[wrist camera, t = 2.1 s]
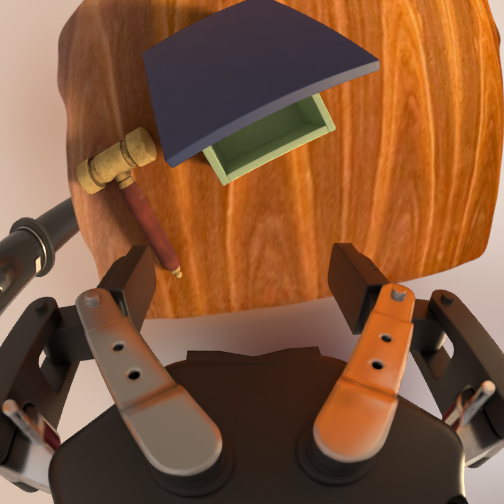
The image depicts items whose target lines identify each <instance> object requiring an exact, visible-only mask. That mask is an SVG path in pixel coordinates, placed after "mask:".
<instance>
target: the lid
mask: <svg viewBox="0 0 504 504" xmlns="http://www.w3.org/2000/svg"><path fill="white" fill-rule="evenodd" d="M142 55H143V61H144V66H145V72H146V77H147V82H148V87H149V92H150V97H151V102H152V107H153V111H154V116H155V120H156V125H157V129H158V134H159V138H160V142H161V146H162V150H163V154H164V159H165V161H166V162H167V163H168V164H169V165H170V166H171V167H172V168H174V167H176V166H177V165H179V164H181V163H182V162H184V161H185V160H187V159H189V158H190V157H192V156H194V155H195V154H197V153H199V152H200V151H202V150H204V149H206V148H207V147H209V146H211V145H213V144H214V143H216V142H218V141H220V140H222V139H223V138H225V137H227V136H229V135H231V134H233V133H234V132H236V131H238V130H240V129H242V128H244V127H246V126H248V125H250V124H252V123H254V122H256V121H258V120H260V119H262V118H264V117H266V116H268V115H270V114H272V113H274V112H276V111H278V110H280V109H282V108H285V107H287V106H289V105H291V104H293V103H296V102H298V101H300V100H302V99H305V98H307V97H309V96H312V95H314V94H316V93H319V92H321V91H324V90H326V89H329V88H331V87H334V86H336V85H339V84H342V83H344V82H347V81H350V80H352V79H355V78H358V77H361V76H364V75H366V74H369V73H372V72H375V71H378V70H379V60H378V59H377V58H376V57H374V56H373V55H372V54H370V53H369V52H367V51H366V50H364V49H363V48H361V47H360V46H358V45H357V44H355V43H354V42H352V41H351V40H349V39H347V38H346V37H344V36H343V35H341V34H339V33H338V32H336V31H334V30H333V29H331V28H329V27H327V26H326V25H324V24H322V23H320V22H318V21H316V20H314V19H313V18H311V17H309V16H307V15H305V14H303V13H301V12H299V11H297V10H295V9H292V8H290V7H288V6H286V5H284V4H281V3H279V2H277V1H274V0H246V1H243V2H240V3H238V4H235V5H233V6H230V7H228V8H226V9H223V10H221V11H219V12H217V13H214V14H212V15H210V16H208V17H206V18H204V19H202V20H200V21H198V22H196V23H194V24H192V25H190V26H188V27H186V28H184V29H182V30H180V31H179V32H177V33H175V34H173V35H171V36H170V37H168V38H166V39H165V40H163V41H161V42H160V43H158V44H156V45H155V46H153V47H151V48H150V49H148V50H147V51H145V52H144V53H142Z"/></svg>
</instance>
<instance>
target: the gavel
mask: <svg viewBox="0 0 504 504" xmlns="http://www.w3.org/2000/svg"><path fill="white" fill-rule="evenodd" d="M156 156H157V152H156V148H155V145H154V142H153V140H152V138H151V136H150V135H149V133H148V132H147V131H146V130H145V129H144V128H142V127H139V128H138V129H136V130H134V131H132V132H130V133H129V134H127V135H126V139H125V140H121V141H119V142H118V143H116V144H114V145H113V146H111V147H109V148H108V149H106V150H104V151H103V152H101V153H100V154H98V155H97V156H96V157H95V158H94V157H89V158H88V159H86V160H85V161H83V162H82V163H80V164H79V165H78V167H77V178H78V181H79V183H80V185H81V187H82V188H83V189H84V190H85V191H86V192H88V193H90V194H94V193H96V192H97V191H99V190H101V189H103V188H104V187H105V186H106V184H107V182H110V181H112V180H113V179H115V180H116V182H118V183H119V184H118V186H119V187H120V189H121V192H122V195H123V198H124V200H125V202H126V204H127V206H128V207H129V209H130V211H131V213H132V215H133V216H134V218H135V220H136V222H137V223H138V225H139V227H140V229H141V230H142V232H143V234H144V235H145V237H146V239H147V241H148V242H149V244H150V246H151V247H152V249H153V251H154V252H155V254H156V256H157V257H158V259H159V260H160V262H161V264H162V265H163V266H164V267H166V268H167V269H168V270H169V271H170V272H171V273H173V274H174V273H175V276H176V277H177V278H180V277H181V276H182V273H181V271H179V270H180V266H179V261H178V256H177V254H176V252H175V250H174V249H173V247H172V245H171V243H170V242H169V240H168V238H167V236H166V235H165V233H164V231H163V229H162V228H161V226H160V224H159V222H158V220H157V218H156V217H155V215H154V213H153V211H152V209H151V207H150V206H149V204H148V202H147V200H146V198H145V196H144V194H143V192H142V191H141V189H140V187H139V186H138V185H137V183H136V182H135V181H134V179H133V177H132V176H131V175H130V174H131V172H130V170H131V169H133V168H135V167H136V165H139V166H144V165H146V164H148V163H150V162H152V161H154V160H155V159H156Z"/></svg>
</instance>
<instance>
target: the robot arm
mask: <svg viewBox="0 0 504 504" xmlns="http://www.w3.org/2000/svg"><path fill="white" fill-rule="evenodd" d="M46 264H47V249H46V246H45V244H44V241H43V240H42V238H41V236H40V235H39V234H38V233H37V232H36V231H35V230H34V229H32V228H31V227H28V226H20V227H19V228H17V229H16V230H15V231H14V232H13V233H11V234H10V235H8V236H7V237H6V238H4V239H3V240H2V241H0V316H1V315H2V314H3V312H4V311H5V310H6V309H7V307H8V306H9V305H10V304H11V303H12V301H13V300H14V299H15V298H16V297H17V296H18V295H19V294H20V292H21V291H22V290H23V289H24V288H25V287H26V286H27V285H28V283H29V282H30V281H31V280H32V279H33V278H34V277H35V276H36V275H37V274H38V273H39V272H40V271H42V270H43V269H44V267H45V266H46ZM328 285H329V288H330V290H331V292H332V294H333V296H334V298H335V300H336V301H337V303H338V305H339V307H340V309H341V311H342V313H343V315H344V317H345V319H346V321H347V323H348V325H349V327H350V329H351V331H352V333H353V335H357V334H361V336H360V338H359V340H358V343H357V345H356V347H355V349H354V351H353V353H352V355H351V357H350V359H349V361H348V363H347V362H345V361H342V360H339V359H336V358H333V357H328V356H321V354H320V351H319V348H318V346H317V347H305V348H291V349H284V350H280V351H276V352H272V353H268V354H264V355H260V356H246V355H240V354H234V353H228V352H223V351H187V359H186V360H183V361H179V362H175V363H172V364H170V365H167V366H165V367H163V366H162V364H161V363H160V362H159V360H158V359H157V357H156V356H155V355H154V353H153V352H152V350H151V349H150V347H149V346H148V345H147V343H146V342H145V340H144V339H143V337H142V336H141V335H140V330H141V327H142V324H143V322H144V319H145V316H146V314H147V311H148V308H149V305H150V303H151V300H152V298H153V295H154V292H155V289H156V275H155V269H154V262H153V256H152V250H151V247H150V245H134V246H132V248H131V249H130V251H129V252H128V253H127V255H126V256H122V257H121V258H119V259H118V260H116V261H115V262H114V263H113V264H112V266H111V267H110V270H108V272H107V273H106V275H105V276H104V277H103V279H102V280H101V282H100V283H99V285H98V286H97V288H94V289H90V290H87V291H85V292H83V293H82V294H80V295H79V296H78V298H77V299H76V302H75V304H76V305H73V306H67V307H61V308H58V305H57V303H56V300H55V299H54V298H52V297H43V298H39V299H37V300H35V301H33V302H32V303H31V304H29V306H28V307H27V308H26V309H25V311H24V312H23V314H22V315H21V317H20V318H19V320H18V321H17V322H16V324H15V325H14V327H13V328H12V330H11V331H10V333H9V334H8V336H7V337H6V339H5V340H4V342H3V344H2V345H1V347H0V475H1V476H2V477H4V478H5V479H7V480H8V481H10V482H11V483H13V484H14V485H16V486H17V487H19V488H20V489H22V490H24V491H26V492H36V491H38V490H41V491H44V492H47V493H49V494H52V497H53V501H54V504H468V502H467V500H466V497H465V490H464V468H465V467H469V468H477V467H479V466H481V465H482V464H483V463H485V462H486V461H487V460H488V459H490V458H491V457H493V456H494V455H496V454H497V453H498V452H499V451H501V450H502V449H503V448H504V354H503V353H502V351H501V350H500V348H499V347H498V345H497V344H496V343H495V342H494V340H493V339H492V338H491V336H490V335H489V334H488V332H487V331H486V330H485V329H484V327H483V326H482V325H481V324H480V323H479V322H478V320H477V319H476V318H475V316H474V315H473V314H472V313H471V312H470V311H469V309H468V308H467V307H466V306H465V305H464V304H463V303H462V301H461V300H460V299H459V298H458V297H457V296H456V295H455V294H453V293H451V292H449V291H446V290H435V291H433V293H432V295H431V298H430V301H429V300H421V299H415V295H414V293H413V292H412V291H411V290H410V289H409V288H407V287H405V286H403V285H400V284H394V283H390V282H389V281H388V280H387V279H386V277H385V276H384V275H383V274H382V273H381V271H379V269H378V268H377V267H376V266H375V264H374V263H373V262H372V261H371V260H370V259H369V258H368V257H366V256H364V255H363V254H361V253H359V252H358V251H357V250H356V249H355V247H354V246H353V245H352V244H351V243H335V244H334V245H333V247H332V253H331V259H330V265H329V271H328ZM446 336H448V337H449V339H450V340H451V342H452V343H453V346H454V354H453V357H452V358H450V357H449V355H448V353H447V352H446V350H445V349H444V347H443V346H442V344H443V342H444V340H445V338H446ZM42 350H43V351H44V353H45V355H46V358H45V360H44V361H43V364H42V366H41V368H40V367H39V356H40V354H41V352H42ZM409 351H410V352H411V354H412V356H413V358H414V360H415V362H416V363H417V365H418V367H419V369H420V371H421V373H422V375H423V377H424V379H425V381H426V383H427V385H428V387H429V389H430V391H431V393H432V395H433V397H434V399H435V401H436V404H437V406H438V408H439V410H440V412H441V414H442V420H440V419H439V418H437V417H435V416H433V415H432V414H430V413H428V412H427V411H425V410H423V409H422V408H420V407H418V406H417V405H415V404H413V403H412V402H410V401H408V400H407V399H405V398H403V397H402V396H400V395H398V392H399V388H400V385H401V381H402V377H403V374H404V370H405V366H406V361H407V357H408V353H409ZM91 359H95V361H96V363H97V366H98V368H99V370H100V372H101V375H102V377H103V379H104V381H105V383H106V385H107V388H108V390H109V392H110V394H111V396H112V398H113V400H114V402H115V404H114V405H112V406H111V407H110V408H109V409H107V410H106V411H105V412H103V413H102V414H101V415H99V416H98V417H97V418H95V419H94V420H93V421H92V422H90V423H89V424H88V425H86V426H85V427H83V428H82V429H81V430H80V431H78V432H77V433H75V434H74V435H73V436H71V437H70V438H69V439H67V440H66V441H65V442H63V443H62V444H61V441H60V436H59V434H58V433H57V431H56V430H57V427H58V423H59V420H60V417H61V414H62V410H63V407H64V404H65V401H66V398H67V395H68V393H69V390H70V387H71V384H72V381H73V379H74V376H75V373H76V371H77V368H78V365H79V363H80V361H84V360H91ZM60 444H61V445H60Z"/></svg>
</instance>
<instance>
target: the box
mask: <svg viewBox="0 0 504 504" xmlns="http://www.w3.org/2000/svg"><path fill="white" fill-rule="evenodd" d="M335 129H336V128H335V126H334V123H333V121H332V119H331V117H330V115H329V113H328V111H327V109H326V107H325V105H324V103H323V101H322V99H321V97H320V95H319V93H316V94H314V95H312V96H309V97H307V98H305V99H302V100H300V101H298V102H296V103H293V104H291V105H289V106H287V107H285V108H282V109H280V110H278V111H276V112H274V113H272V114H270V115H268V116H266V117H264V118H262V119H260V120H258V121H256V122H254V123H252V124H250V125H248V126H246V127H244V128H242V129H240V130H238V131H236V132H234V133H233V134H231V135H229V136H227V137H225V138H223V139H222V140H220V141H218V142H216V143H214V144H213V145H211V146H209V147H207V148H206V149H204V150H202V151H203V153H204V155H205V156H206V158H207V160H208V161H209V163H210V165H211V166H212V168H213V170H214V171H215V173H216V175H217V176H218V178H219V180H220V182H221V183H222V185H223V186H224V185H226V184H227V183H229V182H230V181H233V180H235V179H236V178H238V177H240V176H242V175H244V174H246V173H248V172H250V171H251V170H253V169H255V168H257V167H259V166H261V165H263V164H265V163H267V162H269V161H271V160H273V159H275V158H277V157H279V156H281V155H283V154H285V153H287V152H289V151H291V150H293V149H295V148H297V147H299V146H301V145H303V144H305V143H307V142H309V141H311V140H314V139H316V138H318V137H320V136H322V135H324V134H326V133H329V132H331V131H333V130H335Z"/></svg>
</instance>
